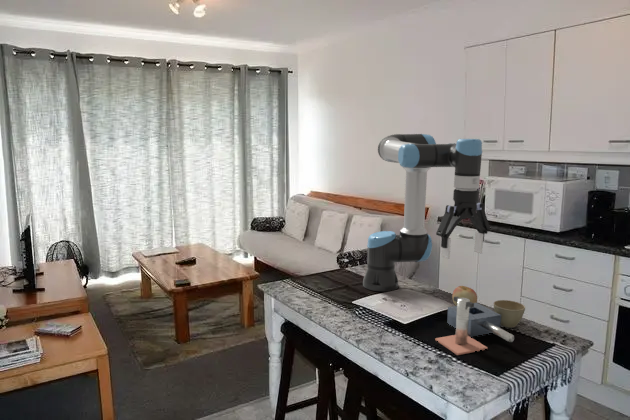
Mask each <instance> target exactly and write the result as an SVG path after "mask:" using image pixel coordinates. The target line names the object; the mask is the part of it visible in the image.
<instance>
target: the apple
mask: <svg viewBox="0 0 630 420" xmlns="http://www.w3.org/2000/svg"><path fill="white" fill-rule="evenodd" d="M455 296H457V297H460V298H467V299H469V300H470V302H472V303H478V294H477V292H476V291H475V289H473V288H471V287H468V286H465V285H459V286H457V287H455V288H454V290H453V291H452V299H453V298H454V297H455ZM452 301H453V300H452ZM453 304H454V306H457V302H456V301H453Z"/></svg>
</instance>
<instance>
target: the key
mask: <svg viewBox="0 0 630 420" xmlns="http://www.w3.org/2000/svg"><path fill="white" fill-rule="evenodd" d="M452 301H456V302H457V316H456V329H455V334H454V335H455V343H456V344H458V345H467V339H468V322H469V307H470V308H472V307H474V303H472V302H470V300H469V299H467V298H460V297H457V296H455V297H454V298H452Z"/></svg>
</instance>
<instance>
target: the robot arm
mask: <svg viewBox="0 0 630 420" xmlns="http://www.w3.org/2000/svg"><path fill="white" fill-rule="evenodd" d="M377 153H378V156H379V157H380V158H381V159H382V160H383V161H385V162H388V163H396V164H399V165H400V167H402V168H403V170H405V184H404V185H405V189H404V190H405V191H404V192H405V193H404V211H403V213H404V214H403V215H404V216H403V226H402V227H401V228H400V229H399V234H396V232H395V231H393V230H392V231H391V230H389V231H388V230H382V231H376V232H374V233H371V234H370V235H369V236H368V238H367V245H366V246H367V260H366V261H367V266H366V267H367V268H366V270H365V274H364V276H363V280H362V287H363V288H365V289H367V290H369V291H374V292H391V290H392V291H395V290H397V289H398V288H399V279H398V277H397V273H396V269H395V266H396V265H395V264H396V263H411V262H412V263H413V262H414V263H420V262H425V261H427V260H428V259H429V258H430V256H431V253H432V250H433V242H432V241H433V239H432V237H431V235H430V234H428V230H427V229H426V228H425V220H426V218H425V216H426V198H427V197H426V196H427V179H428V171H429V170H430V169H431V168H454V181H453V187H454V189H453V194H452V195H453V196H452V200H453V203H454V204H453V205H447V204H446V206H445V211H444V214H443V216H442V219H441V221H440V224H439V226H438V228H437V231H436V233H435V235H436V236H438V237H441V240H440V241H441V242H440V243H441V244H440V246H441V249H442V250H441V257H442V258H445V259H447V260H449V259H450V257H451V246H452V245H451V242H452V239H451V237H450V236H451V235H452V233H453V232H454V229H456V227H457V225H458V223H459V222H462V221H463V220H466V219H468V220H470V221H471V223H472V224H473V227H474V228H475V230H476V231H475V234H474V235H475V236H474V247H473V249H474V250H473V252H474V253H477V254H483V245H484V242H485V235H487V234H488V232H489V231H490V229H491V226H490V224H489V221H488V217H487V214H486V211H485V203H483V202H479V199H480V198H479V195H480V191H479V190H478V189H479V188H480V181H481V167H482V158H483V157H482V156H483V155H482V154H483V141H482V140H481V139H480V138H458V140H457V141H456V143H437V142H436V139H435V138H434V137H433V136H432V135H431V134H424V133H411V134H410V133H407V134H403V133H401V134H400V133H396V134H390V135H387V136H385V137H384V138H383V139H381V140H380V142H379V144H378V146H377Z"/></svg>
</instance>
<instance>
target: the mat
mask: <svg viewBox="0 0 630 420" xmlns="http://www.w3.org/2000/svg"><path fill="white" fill-rule="evenodd" d="M455 335H456V334H452V335H447V336H442V337H441V336H440V337H436V338H434V339H435V342H437V341H438V342H437V343H438V344H440V345H442V346H443V347H445V348H446V349H448V350H449V351H450V352H452V353H454V355H456V356H461V355H465V354H470V353H475V351H477V352H480V350H482V351H486V350H485V349H487V350H488V346H486V345H484V344H482V343H481V342H480V341H477V340H476V339H475V338H474V337H472V338H471V337H469V336H468V339H467V345H458V344H456V343H455Z"/></svg>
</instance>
